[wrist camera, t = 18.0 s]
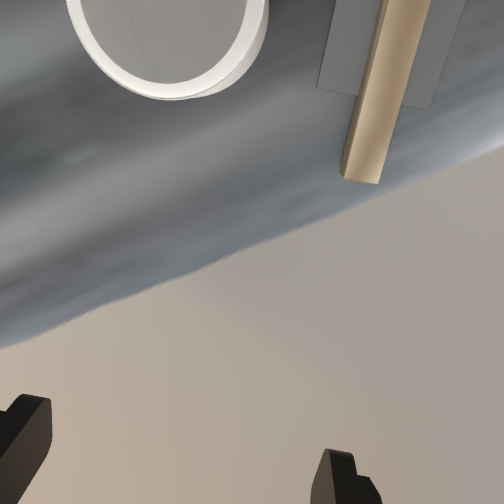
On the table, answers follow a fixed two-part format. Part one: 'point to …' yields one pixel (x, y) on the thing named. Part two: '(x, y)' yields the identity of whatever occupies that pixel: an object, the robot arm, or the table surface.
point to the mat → (359, 39)
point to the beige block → (382, 87)
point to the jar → (171, 42)
